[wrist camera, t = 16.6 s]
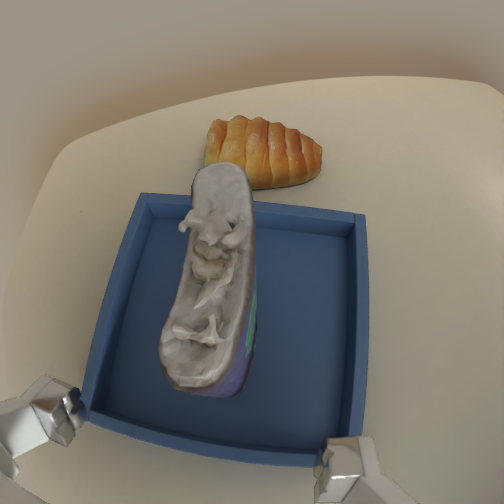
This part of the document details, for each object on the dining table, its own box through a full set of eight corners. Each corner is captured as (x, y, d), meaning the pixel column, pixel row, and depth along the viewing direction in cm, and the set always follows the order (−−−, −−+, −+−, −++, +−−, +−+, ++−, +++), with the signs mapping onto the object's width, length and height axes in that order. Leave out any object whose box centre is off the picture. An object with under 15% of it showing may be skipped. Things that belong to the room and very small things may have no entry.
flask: (217, 253, 20) (190, 124, 11) (261, 256, 20) (267, 126, 11) (201, 396, 16) (129, 386, 7) (252, 401, 16) (248, 403, 6)
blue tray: (97, 417, 16) (76, 417, 13) (150, 212, 23) (140, 192, 20) (344, 459, 14) (357, 467, 12) (355, 234, 22) (365, 214, 19)
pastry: (317, 142, 26) (323, 110, 23) (321, 200, 23) (331, 167, 20) (214, 137, 27) (210, 104, 23) (201, 193, 24) (193, 160, 20)
